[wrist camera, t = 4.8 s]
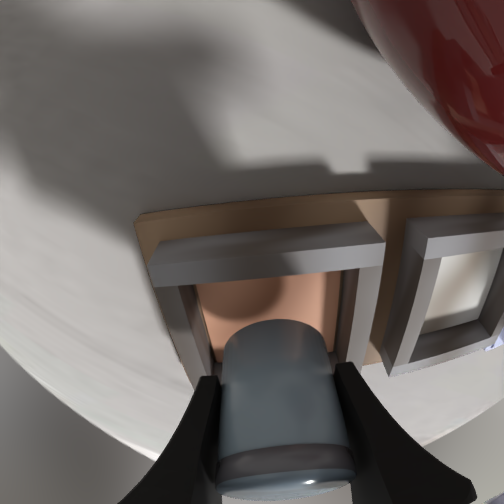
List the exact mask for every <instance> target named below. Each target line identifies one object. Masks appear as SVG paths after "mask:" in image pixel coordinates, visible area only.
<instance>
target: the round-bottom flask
mask: <svg viewBox="0 0 504 504" xmlns="http://www.w3.org/2000/svg"><path fill="white" fill-rule="evenodd" d="M351 2H352V5H353V7H354V9H355V11H356V13H357V15H358V16H359V18H360V20H361V22H362V24H363V26H364V28H365V29H366V31H367V33H368V34H369V36H370V38H371V39H372V41H373V43H374V44H375V46H376V47H377V49H378V50H379V52H380V53H381V55H382V56H383V58H384V59H385V61H386V62H387V63H388V65H389V66H390V68H391V69H392V70H393V72H394V73H395V74H396V76H397V77H398V78H399V79H400V81H401V82H402V83H403V84H404V86H405V87H406V88H407V89H408V90H409V92H410V93H411V94H412V95H413V96H414V97H415V99H416V100H417V101H418V102H419V103H420V104H421V105H422V106H423V108H424V109H425V110H426V111H427V112H428V113H429V114H430V115H431V116H432V117H433V118H434V119H435V120H436V121H437V122H438V123H439V124H440V125H441V126H442V127H443V128H444V129H445V130H446V131H447V132H448V133H449V134H450V135H452V136H453V137H454V138H455V139H456V140H457V141H458V142H460V143H461V144H462V145H463V146H464V147H465V148H467V149H468V150H469V151H470V152H471V153H473V154H474V155H475V156H476V157H478V158H479V159H480V160H482V161H483V162H484V163H486V164H487V165H488V166H490V167H491V168H493V169H494V170H496V171H497V172H498V173H500V174H502V175H503V176H504V0H351Z"/></svg>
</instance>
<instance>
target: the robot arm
mask: <svg viewBox="0 0 504 504" xmlns="http://www.w3.org/2000/svg"><path fill="white" fill-rule="evenodd" d="M503 344H504V327H503V329H502V331H501V333H500V335H499V336H498V338H497V340H496V342H495V344H493V345H491V346H488V347H486V348H483V349H484V351H488V350H491V349H493V348H496V347H498V346H500V345H503ZM334 379H335V383H336V387H337V391H338V395H339V399H340V404H341V408H342V412H343V417H344V421H345V425H346V430H347V435H348V439H349V444H350V449H351V450H352V451H353V455H354V460H355V465H356V470H357V475H356V478H355V479H354V480H353V481H352V482H350V484H351V491H352V501H353V504H470V503H472V502H473V501H475V500H476V499H477V495H476V491H475V489H474V486H473V484H472V482H471V480H470V479H468V478H466V477H464V476H462V475H461V474H459V473H457V472H455V471H454V470H452V469H451V468H449V467H448V466H446V465H445V464H443V463H442V462H440V461H439V460H438V459H436V458H435V457H434V456H433V455H431V454H430V453H429V452H428V451H426V450H425V449H424V448H423V447H421V446H420V445H419V444H418V443H417V442H416V441H415V440H414V439H413V438H412V437H411V436H410V435H409V434H408V433H407V432H406V431H405V430H404V429H403V428H402V427H401V426H400V425H399V424H398V423H397V422H396V421H395V420H394V418H393V417H392V416H391V415H390V414H389V413H388V411H387V410H386V409H385V408H384V406H383V405H382V404H381V403H380V401H379V400H378V399H377V397H376V396H375V395H374V393H373V392H372V391H371V389H370V388H369V386H368V385H367V383H366V382H365V381H364V379H363V378H362V376H361V375H360V373H359V371H358V370H357V368H356V367H355V365H354V363H353V362H351V361H349V362H343V363H337V364H336V365H335V371H334ZM220 397H221V385H220V382H219V379H218V375H210V376H201V377H200V378H199V381H198V384H197V386H196V389H195V391H194V394H193V396H192V398H191V401H190V403H189V405H188V407H187V409H186V411H185V413H184V415H183V417H182V419H181V421H180V423H179V425H178V427H177V429H176V431H175V432H174V434H173V436H172V438H171V439H170V441H169V443H168V444H167V446H166V447H165V449H164V451H163V452H162V454H161V455H160V456H159V458H158V459H157V461H156V462H155V464H154V465H153V466H152V467H151V469H150V470H149V471H148V472H147V474H146V475H145V476H144V477H143V479H142V480H141V481H140V482H139V483H138V484H137V485H136V486H135V487H134V488H133V489H132V490H131V491H130V492H129V493H128V494H127V495H126V496H125V497H124V498H123V499H122V500H121V501H120V502H119V503H118V504H222V495H221V494H219V493H218V492H217V490H216V489H215V470H216V463H217V460H218V437H219V416H220ZM483 504H504V492H503V493H501V494H499V495H497V496H495V497H493V498H491V499H489V500H487V501H486V502H484V503H483Z"/></svg>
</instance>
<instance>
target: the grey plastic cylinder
mask: <svg viewBox="0 0 504 504" xmlns="http://www.w3.org/2000/svg"><path fill="white" fill-rule="evenodd" d="M356 475H357V470H356V465H355V460H354V455H353V451H352V450H351V449H350V444H349V439H348V435H347V430H346V425H345V421H344V417H343V412H342V408H341V404H340V399H339V395H338V391H337V387H336V383H335V379H334V374H333V370H332V367H331V363H330V359H329V355H328V351H327V347H326V343H325V340H324V338H323V336H322V335H321V333H320V332H319V331H318V330H317V329H315V328H314V327H312V326H310V325H308V324H306V323H303V322H300V321H296V320H290V319H271V320H264V321H260V322H256V323H253V324H250V325H248V326H246V327H243V328H242V329H240V330H238V331H237V332H236V333H234V334H233V335H232V336H231V337H230V338H229V340H228V341H227V342H226V344H225V346H224V350H223V362H222V379H221V397H220V416H219V437H218V460H217V463H216V470H215V489H216V490H217V492H218V493H219V494H221V495H224V496H227V497H231V498H236V499H243V500H254V501H275V500H289V499H297V498H303V497H309V496H314V495H318V494H322V493H326V492H329V491H332V490H335V489H338V488H340V487H343V486H345V485H347V484H349V483H350V482H352V481H353V480H354V479H355V478H356Z"/></svg>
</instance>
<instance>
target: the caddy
mask: <svg viewBox="0 0 504 504" xmlns="http://www.w3.org/2000/svg"><path fill="white" fill-rule="evenodd" d="M133 224H134V227H135V231H136V234H137V238H138V241H139V245H140V248H141V251H142V255H143V258H144V261H145V264H146V267H147V270H148V274H149V277H150V280H151V283H152V286H153V289H154V292H155V294H156V297H157V300H158V303H159V306H160V309H161V311H162V314H163V317H164V319H165V322H166V325H167V327H168V330H169V333H170V335H171V338H172V340H173V343H174V345H175V348H176V350H177V353H178V355H179V358H180V360H181V362H182V365H183V367H184V369H185V372H186V374H187V376H188V379H189V381H190V382H191V384H192V386H193V389H194V391H195V389H196V386H197V384H198V381H199V378H200V377H201V376H210V375H218V379H219V382H220V385H221V379H222V362H223V350H224V346H225V344H226V342H227V341H228V340H229V338H230V337H231V336H232V335H233V334H234V333H236V332H237V331H238V330H240V329H242V328H243V327H246V326H248V325H250V324H253V323H256V322H260V321H264V320H271V319H290V320H296V321H300V322H303V323H306V324H308V325H310V326H312V327H314V328H315V329H317V330H318V331H319V332H320V333H321V335H322V336H323V338H324V340H325V343H326V347H327V351H328V355H329V359H330V363H331V367H332V370H333V374H334V371H335V365H336V364H337V363H343V362H349V361H351V362H353V363H354V365H355V367H356V368H357V370H358V371H359V373H361V369H362V366H364V365H369V364H374V363H379V362H383V364H384V367H385V369H386V372H387V374H388V377H393V376H397V375H401V374H405V373H409V372H413V371H416V370H420V369H423V368H427V367H430V366H434V365H437V364H440V363H443V362H446V361H449V360H453V359H455V358H458V357H461V356H464V355H467V354H470V353H472V352H475V351H478V350H480V349H483V348H486V347H488V346H491V345H493V344H495V342H496V340H497V338H498V336H499V335H500V333H501V331H502V329H503V327H504V190H485V189H431V190H393V191H369V192H350V193H333V194H318V195H305V196H293V197H281V198H270V199H259V200H249V201H240V202H230V203H222V204H213V205H205V206H197V207H189V208H181V209H174V210H166V211H159V212H152V213H146V214H140V216H139V217H138V218H137V219H136V221H135V222H134V223H133Z"/></svg>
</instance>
